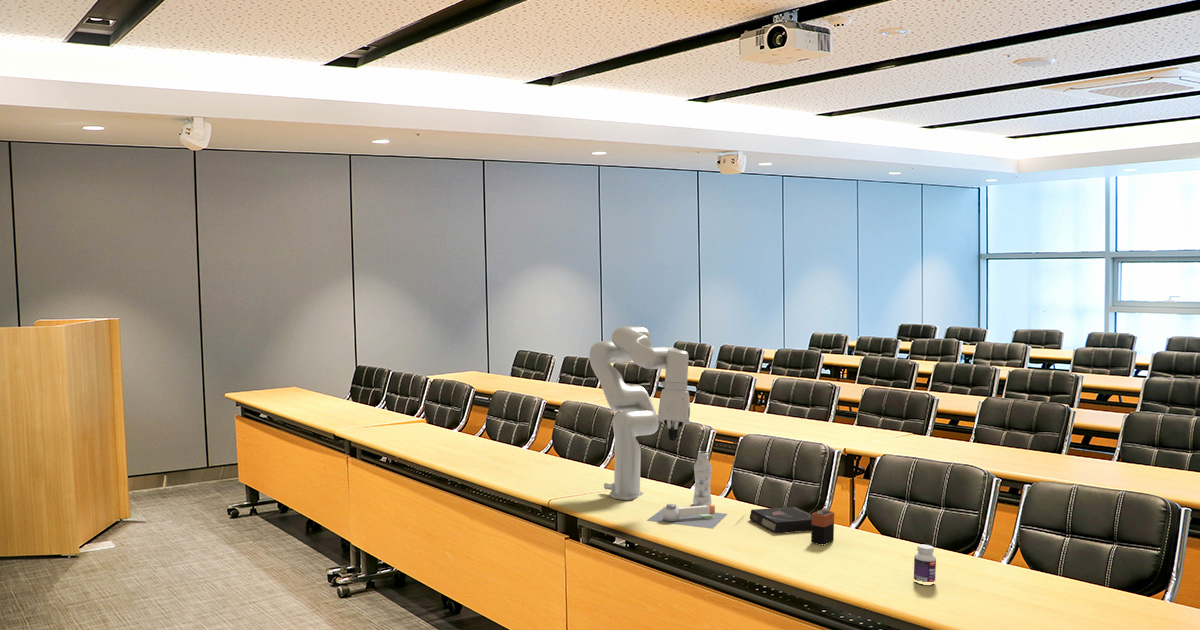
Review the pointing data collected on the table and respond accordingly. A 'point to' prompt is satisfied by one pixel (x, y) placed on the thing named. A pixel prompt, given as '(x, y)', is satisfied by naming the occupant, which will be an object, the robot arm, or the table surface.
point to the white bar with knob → (685, 511)
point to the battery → (822, 527)
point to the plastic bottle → (702, 480)
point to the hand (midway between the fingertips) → (672, 439)
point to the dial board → (692, 519)
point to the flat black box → (782, 519)
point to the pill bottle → (925, 564)
